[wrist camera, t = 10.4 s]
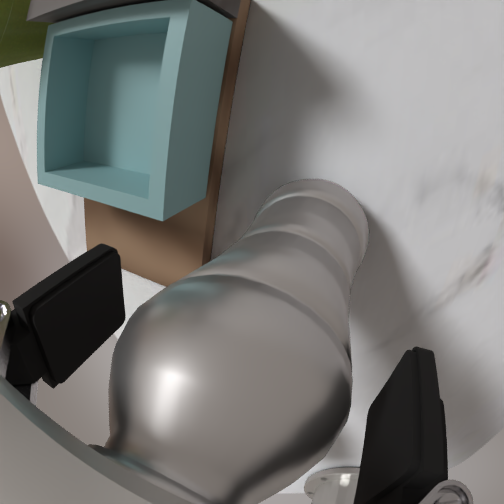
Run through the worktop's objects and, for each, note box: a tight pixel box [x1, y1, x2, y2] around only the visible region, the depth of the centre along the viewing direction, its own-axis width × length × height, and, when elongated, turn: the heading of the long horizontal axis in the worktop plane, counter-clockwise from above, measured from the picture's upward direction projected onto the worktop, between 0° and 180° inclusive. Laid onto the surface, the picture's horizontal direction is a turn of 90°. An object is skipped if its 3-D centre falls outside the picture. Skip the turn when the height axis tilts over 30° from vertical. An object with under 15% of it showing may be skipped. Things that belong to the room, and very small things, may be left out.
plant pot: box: [0, 0, 54, 68], centre depth 15 cm, size 12×12×11 cm
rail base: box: [26, 0, 251, 287], centre depth 18 cm, size 22×12×8 cm, turn 170°
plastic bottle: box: [88, 179, 369, 504], centre depth 12 cm, size 6×7×20 cm
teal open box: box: [37, 0, 233, 221], centre depth 17 cm, size 12×12×5 cm
